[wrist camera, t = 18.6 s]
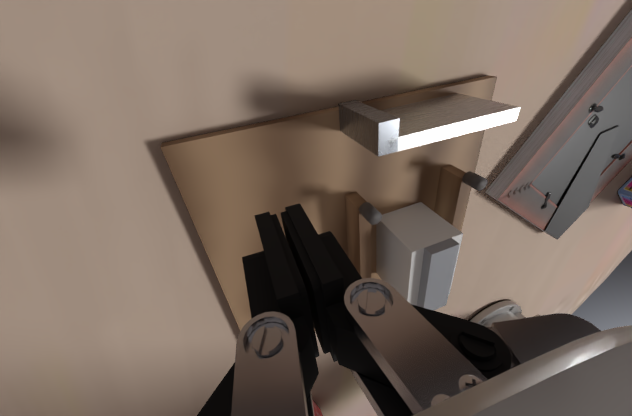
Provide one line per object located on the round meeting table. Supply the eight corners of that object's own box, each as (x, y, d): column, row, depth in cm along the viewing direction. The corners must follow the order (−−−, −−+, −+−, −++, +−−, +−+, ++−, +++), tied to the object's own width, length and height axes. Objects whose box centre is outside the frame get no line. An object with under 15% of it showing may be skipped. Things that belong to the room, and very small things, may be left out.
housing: (488, 75, 22) (547, 83, 18) (445, 272, 34) (475, 301, 30) (161, 142, 16) (152, 174, 13) (250, 349, 29) (258, 395, 25)
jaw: (420, 201, 25) (471, 239, 21) (414, 258, 29) (456, 300, 24) (376, 216, 24) (419, 259, 20) (376, 272, 28) (411, 319, 23)
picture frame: (539, 229, 38) (677, 77, 32) (558, 239, 36) (710, 80, 30) (478, 189, 30) (652, -30, 23) (499, 200, 28) (695, -36, 21)
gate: (460, 78, 20) (525, 89, 16) (456, 104, 21) (516, 120, 17) (338, 103, 18) (378, 123, 14) (340, 130, 19) (378, 156, 15)
